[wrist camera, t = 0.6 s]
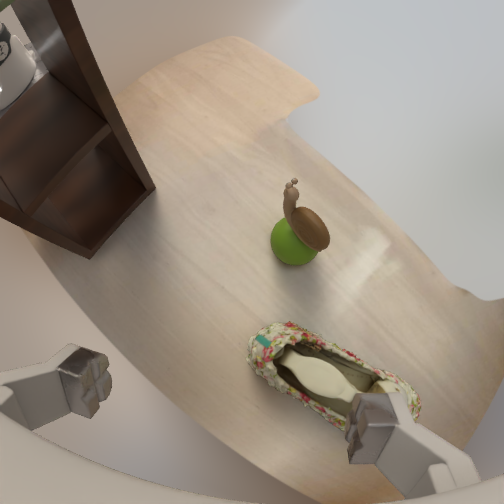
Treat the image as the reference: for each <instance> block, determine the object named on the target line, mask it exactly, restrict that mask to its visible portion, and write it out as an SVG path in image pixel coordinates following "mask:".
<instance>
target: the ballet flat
mask: <svg viewBox="0 0 504 504" xmlns="http://www.w3.org/2000/svg"><path fill="white" fill-rule="evenodd" d="M306 331H307V329H304V328H301V327H300V326H298V325H297V324H294V323H291V322H290V321H289V322H288V323H286V324H282V323H278V322H276V323H273V324H271V325H270V326H268V327H265V328H262V329H261V330H260V331H258V333H257V335H255V336H251V338H250V339H249V343H248V349H247V350H248V351H250V354H249V355H248V357H246V361H248V362H249V365H250V366H251V367H252V368H253V369H254V370H255V371H256V373H257V376H258V375H260V376H262V377H263V378H265V379H266V380H267V381H268V385H269V386H272V387H273V386H274V387H276V388H277V391H278V390H279V391H280V392H282V393H285V392H288V393H287V394H290V395H292V396H293V399H294V398H297V399H300V401H302V402H303V404H304V407H306V406H308V405H309V406H310V407H311V408H312V409H314V411H317V412H319V414H320V415H322V416H323V417H324V418H325V420H327V421H329V422H330V423H332V424H333V425H334V426H336V427H338V428H339V429H341V431H344V427H345V421H346V417H347V414H348V412H350V411H351V410H352V409H353V406H352V400H353V397H354V396H355V394H356V393H387V392H400V393H401V394H402V395H403V397H404V400H405V402H406V404H407V406H408V408H409V410H410V413H411V415H412V417H413V419H414V422H415V421H416V420H417V418H418V416H419V411H420V408H421V404H420V402H421V400H420V398H419V396H418V394H417V392H414V390H413V387H412V386H411V385H410V384H407V383H406V382H405V381H404V380H403V379H401V378H399V377H398V376H397V375H395V374H393V373H390V372H386V371H385V370H384V371H381V370H379V369H378V368H377V369H376V368H375V369H374V368H372V367H371V366H369V365H368V364H367V362H364V361H363V360H361V361H360V359H358V358H356V355H354V354H353V352H351V353H350V352H349V351H346V352H345V349H344V350H343V349H340V348H339V347H338V346H336V344H333V343H330V342H327V341H326V340H323V339H322V338H321V335H318V334H317V333H313V332H310V333H309V331H308V332H306ZM276 388H275V389H276Z"/></svg>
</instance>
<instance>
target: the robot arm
mask: <svg viewBox="0 0 504 504" xmlns="http://www.w3.org/2000/svg"><path fill="white" fill-rule="evenodd" d="M34 56H35V53H34V51H33V50H30V51H28V50H27V49H26V48H25V46H24V45H23V44H22V43H21V41H20V40H19V39H18V38H17V36H15V35H14V36H11V34H10V33H9V31H8V28H7V27H6V26H5V25H4V24H3V23H1V22H0V111H1V110H2V109H4V108H5V107H7V106H8V105H10V104H11V103H12V102H13V101H14V100H15V99H16V98H17V97H18V96H19V95H20V94H21V93H22V92H23V91H24V90H25V89H26V87H27V86H28V84H29V83H30V81H31V80H32V78H33V76H34V74H35V70H36V64H35V62H34ZM108 366H109V362H108V357H107V356H106V355H105V354H102V353H99V352H95V351H92V350H89V349H86V348H83V347H80V346H77V345H74V344H68V345H66V346H65V347H64V348H63V349H62V350H60V351H59V352H58V353H57V354H55V355H54V356H53V357H52V358H51V359H49V360H48V361H47V362H46V363H44V364H42V363H38V364H34V365H30V366H25V367H21V368H16V369H12V370H7V371H3V372H0V504H259V503H249V502H243V501H235V500H229V499H222V498H216V497H211V496H205V495H201V494H196V493H191V492H187V491H183V490H179V489H174V488H171V487H167V486H163V485H160V484H156V483H153V482H149V481H146V480H143V479H140V478H137V477H133V476H131V475H128V474H125V473H122V472H119V471H117V470H114V469H111V468H109V467H106V466H104V465H101V464H98V463H96V462H94V461H91V460H89V459H87V458H84V457H82V456H80V455H78V454H75V453H73V452H71V451H69V450H67V449H65V448H62V447H61V446H59V445H57V444H55V443H52V442H50V441H49V440H47V439H45V438H43V437H41V436H40V435H38V434H36V433H34V432H32V430H34V429H36V428H39V427H41V426H43V425H45V424H47V423H50V422H51V421H54V420H56V419H58V418H60V417H63V416H64V415H67V414H69V413H70V412H74V413H76V414H79V415H81V416H84V417H87V418H90V419H91V418H92V417H93V415H94V414H95V413H96V412H97V410H98V409H99V407H100V406H99V402H101V401H104V400H106V399H107V397H108V396H109V394H110V391H111V388H112V378H111V375H110V374H109V372H108V371H107V368H108ZM352 406H353V409H352V410H351V411H350V412H348V414H347V417H346V421H345V427H344V433H345V439H346V440H347V441H348V442H349V446H348V448H347V452H348V458H349V464H375V466H376V467H377V468H378V469H379V470H380V471H381V472H382V473H383V474H384V476H385V477H386V478H387V479H388V480H389V481H390V482H391V483H392V484H393V485H394V486H395V487H396V488H397V489H398V490H399V491H400V492H401V493H402V495H403V496H404V497H405V499H404V500H400V501H393V502H385V503H376V504H504V474H502V475H499V476H496V477H493V478H490V479H487V480H485V481H482V480H481V478H480V475H479V473H478V471H477V469H476V467H475V465H474V463H473V461H472V459H471V457H470V456H469V455H467V454H466V453H464V452H463V451H461V450H460V449H458V448H456V447H455V446H453V445H452V444H450V443H449V442H447V441H445V440H444V439H442V438H441V437H439V436H438V435H436V434H435V433H433V432H432V431H430V430H429V429H427V428H426V427H424V426H423V425H421V424H420V423H417V424H415V422H414V419H413V417H412V415H411V413H410V410H409V408H408V406H407V404H406V402H405V400H404V397H403V395H402V394H401V393H400V392H387V393H356V394H355V396H354V397H353V400H352Z"/></svg>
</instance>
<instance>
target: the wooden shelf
mask: <svg viewBox="0 0 504 504" xmlns="http://www.w3.org/2000/svg"><path fill="white" fill-rule="evenodd" d="M10 4H11V6H12V8H13V10H14V12H15V14H16V16H17V17H18V19H19V21H20V23H21V25H22V27H23V28H24V30H25V32H26V34H27V36H28V37H29V39H30V41H31V43H32V44H33V46H34V48H35V50H36V51H37V53H38V55H39V56H40V58H41V60H42V61H43V63H44V65H45V66H46V68H47V70H48V71H49V72H47V73H46V74H45V75H44V76H43V77H42V78H40V79H39V80H38V81H37V82H36V83H35V84H34V85H33V86H32V87H31V88H30V89H29V90H27V91H26V92H25V93H24V94H23V95H22V96H21V97H20V98H19V99H18V100H17V101H16V102H15V103H14V104H13V105H12V106H11V107H10V109H9V110H8V111H7V112H6V113H5V114H4V115H3V116H2V117H1V118H0V217H1V218H3V219H5V220H7V221H9V222H11V223H13V224H15V225H17V226H19V227H21V228H23V229H25V230H27V231H29V232H31V233H33V234H35V235H37V236H39V237H41V238H43V239H46V240H48V241H50V242H52V243H54V244H56V245H58V246H60V247H63V248H65V249H67V250H69V251H71V252H74V253H76V254H78V255H80V256H82V257H85V258H87V259H90V258H91V257H92V256H93V255H94V254H95V252H96V251H97V250H98V249H99V248H100V247H101V246H102V244H103V243H104V242H105V241H106V240H107V239H108V238H109V237H110V235H111V234H112V233H113V232H114V231H115V230H116V229H117V228H118V227H119V226H120V224H121V223H122V222H123V221H124V220H125V219H126V218H127V217H128V216H129V215H130V214H131V213H132V212H133V211H134V210H135V208H136V207H137V206H138V205H139V204H140V203H141V202H142V201H143V200H144V199H145V198H146V197H147V196H148V195H149V194H150V193H151V192H152V191H153V190H154V189H155V188H156V187H155V185H154V183H153V181H152V179H151V177H150V175H149V173H148V171H147V169H146V167H145V165H144V163H143V161H142V159H141V157H140V155H139V153H138V151H137V149H136V147H135V145H134V143H133V141H132V139H131V137H130V135H129V132H128V130H127V128H126V126H125V124H124V122H123V120H122V118H121V116H120V113H119V111H118V109H117V107H116V105H115V103H114V100H113V98H112V96H111V94H110V92H109V89H108V87H107V85H106V83H105V81H104V78H103V76H102V74H101V71H100V69H99V67H98V65H97V62H96V60H95V58H94V55H93V53H92V51H91V48H90V46H89V43H88V41H87V39H86V36H85V34H84V31H83V29H82V26H81V24H80V21H79V19H78V16H77V14H76V11H75V8H74V6H73V3H72V0H0V12H1V11H2V10H3V9H5V8H6V7H7V6H9V5H10Z"/></svg>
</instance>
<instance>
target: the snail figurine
mask: <svg viewBox="0 0 504 504" xmlns="http://www.w3.org/2000/svg"><path fill="white" fill-rule="evenodd" d="M291 182H292V184H291V183H290V182H289V183H287V184H286V188H285V190H284V202H283V209H284V214H285V218H283V219H281V220H280V221H279V222H278V223H277V224H276V225H275V227H274V229H273V231H272V234H271V246H272V250H273V252H274V253H275V255H276V256H277V257H278V258H279V259H280V260H281V261H282V262H284V263H286V264H289V265H303V264H306V263H308V262H309V261H311V260H312V259H313V258H314V257H315V256H316V255H317V253H318V252H321V251H322V250H324V249H326V248H327V247H328V245H329V243H330V235H329V232H328V230H327V227H326V226H325V224H324V222H323V221H322V220H321V219H320V217H319V216H318V215H317V214H316V213H314V212H313V211H312V210H310V209H308V208H306V207H298V208H296V201H297V200H298V198H299V192H298V190H297V189H296V188H295V187H293V184H297V182H298V180H297V179H296V178H293V179H292V180H291Z"/></svg>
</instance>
